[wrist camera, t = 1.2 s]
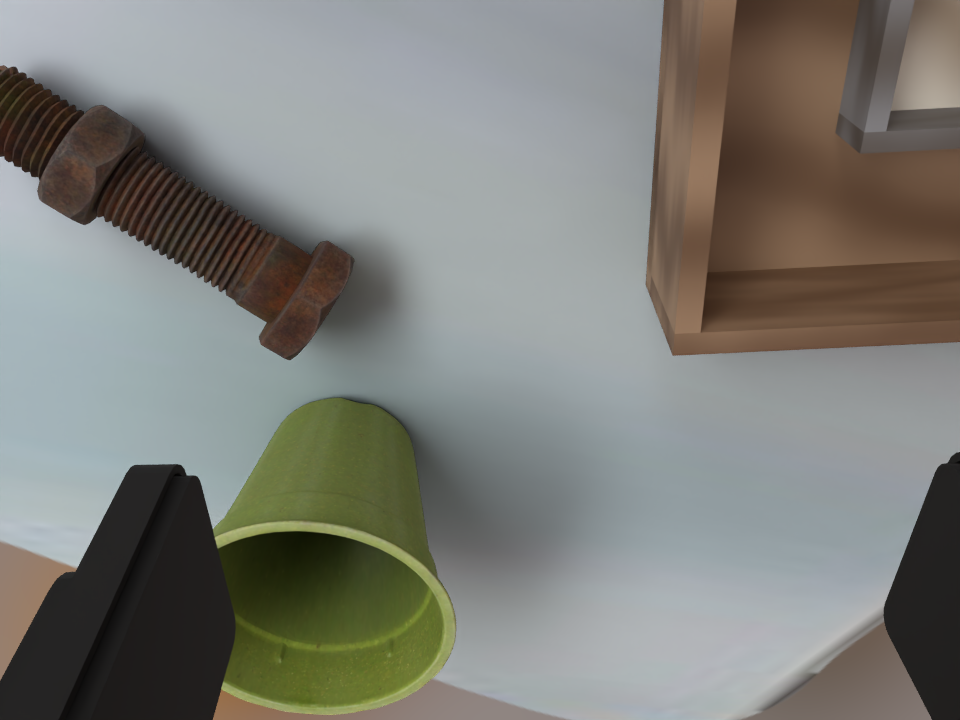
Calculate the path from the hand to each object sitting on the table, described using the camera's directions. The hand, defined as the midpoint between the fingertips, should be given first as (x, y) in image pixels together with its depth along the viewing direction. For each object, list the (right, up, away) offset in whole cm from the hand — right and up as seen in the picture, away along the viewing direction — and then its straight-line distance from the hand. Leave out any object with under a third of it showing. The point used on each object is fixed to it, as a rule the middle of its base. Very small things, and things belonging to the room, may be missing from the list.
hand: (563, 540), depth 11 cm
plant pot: (-8, -2, +32) cm, 33 cm away
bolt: (-14, +10, +25) cm, 30 cm away
